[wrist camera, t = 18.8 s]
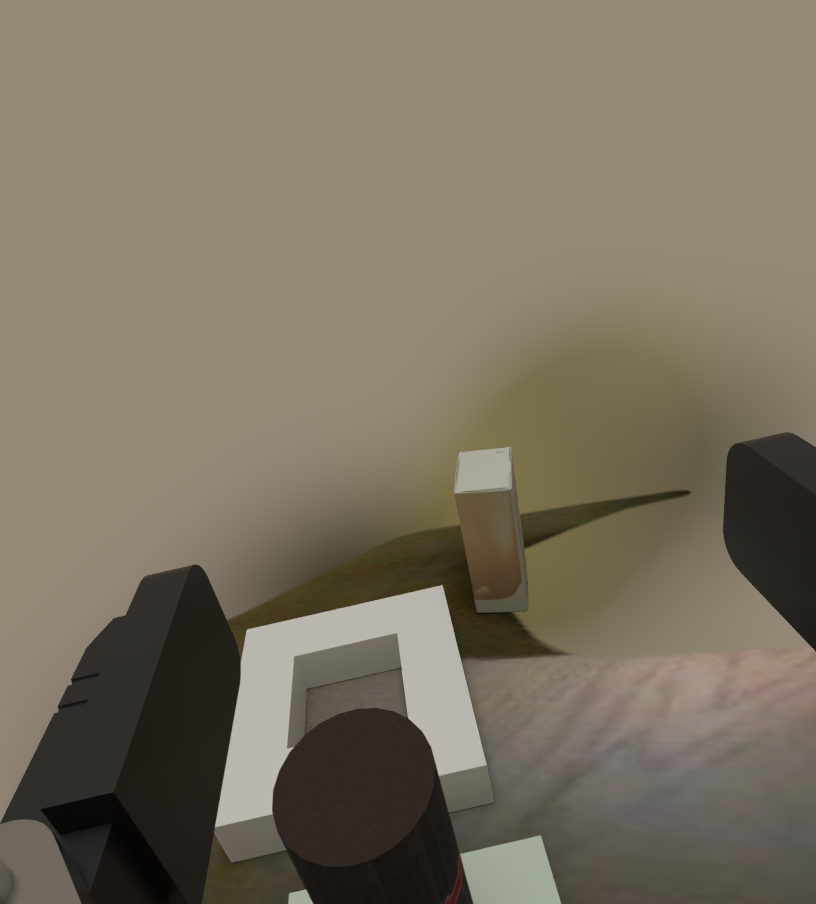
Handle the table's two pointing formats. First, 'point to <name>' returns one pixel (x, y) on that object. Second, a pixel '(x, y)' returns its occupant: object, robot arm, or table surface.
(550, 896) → the mat
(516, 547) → the skincare box
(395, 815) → the deodorant
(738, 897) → the table surface
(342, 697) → the table surface
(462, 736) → the socket block
